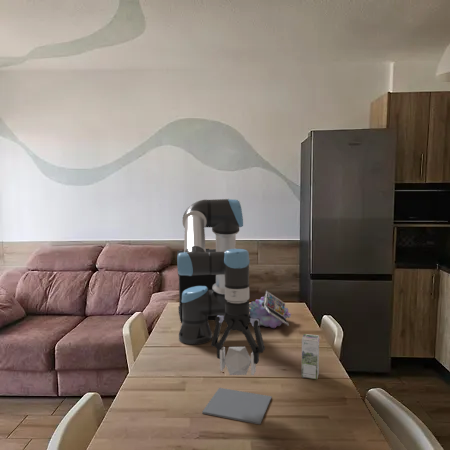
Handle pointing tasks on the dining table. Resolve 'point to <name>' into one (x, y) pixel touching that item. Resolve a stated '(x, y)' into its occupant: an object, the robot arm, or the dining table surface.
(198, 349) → the dining table surface
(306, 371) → the syrup box
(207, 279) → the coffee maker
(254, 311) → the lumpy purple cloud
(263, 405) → the mat
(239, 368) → the die
